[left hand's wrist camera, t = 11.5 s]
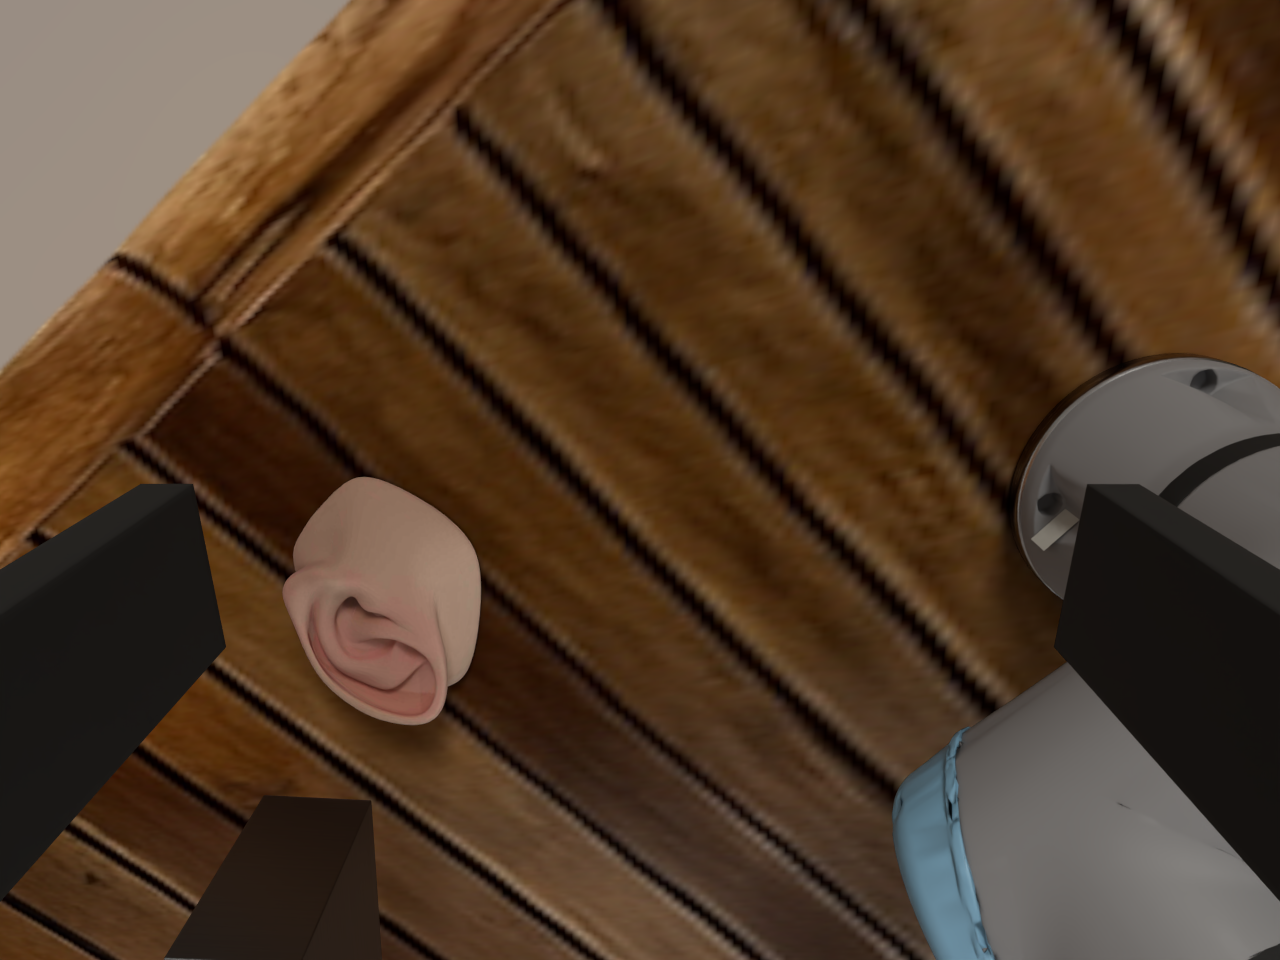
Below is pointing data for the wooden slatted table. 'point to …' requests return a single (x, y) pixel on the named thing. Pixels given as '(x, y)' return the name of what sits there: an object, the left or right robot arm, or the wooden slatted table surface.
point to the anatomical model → (385, 600)
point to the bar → (291, 888)
